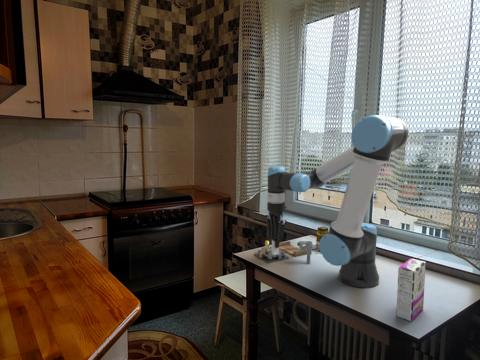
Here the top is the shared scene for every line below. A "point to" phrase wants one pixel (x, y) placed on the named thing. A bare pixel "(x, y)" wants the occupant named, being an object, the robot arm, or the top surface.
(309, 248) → the mechanical component
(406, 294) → the candy bar box
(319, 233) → the condiment
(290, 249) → the seat
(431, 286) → the top surface
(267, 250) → the grey metal machine part
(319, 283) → the top surface
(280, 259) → the base
